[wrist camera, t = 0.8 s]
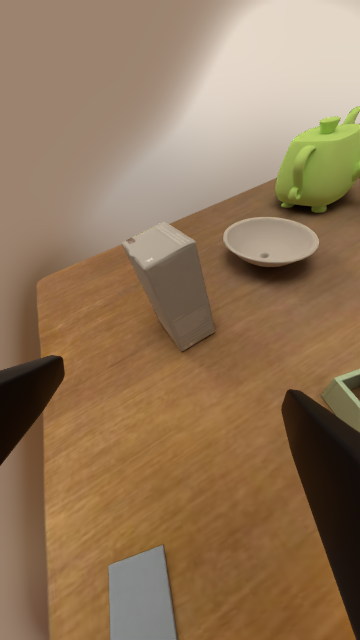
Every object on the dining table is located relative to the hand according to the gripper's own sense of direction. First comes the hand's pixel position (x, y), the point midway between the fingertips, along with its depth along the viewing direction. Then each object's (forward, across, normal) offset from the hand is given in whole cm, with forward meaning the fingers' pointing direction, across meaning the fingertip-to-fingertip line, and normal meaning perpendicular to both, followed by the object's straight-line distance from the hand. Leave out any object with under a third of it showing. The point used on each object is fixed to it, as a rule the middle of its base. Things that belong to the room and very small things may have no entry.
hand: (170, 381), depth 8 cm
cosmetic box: (+26, +1, +8) cm, 27 cm away
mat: (0, 0, +23) cm, 23 cm away
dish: (+39, -13, -3) cm, 41 cm away
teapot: (+58, -30, -18) cm, 67 cm away
